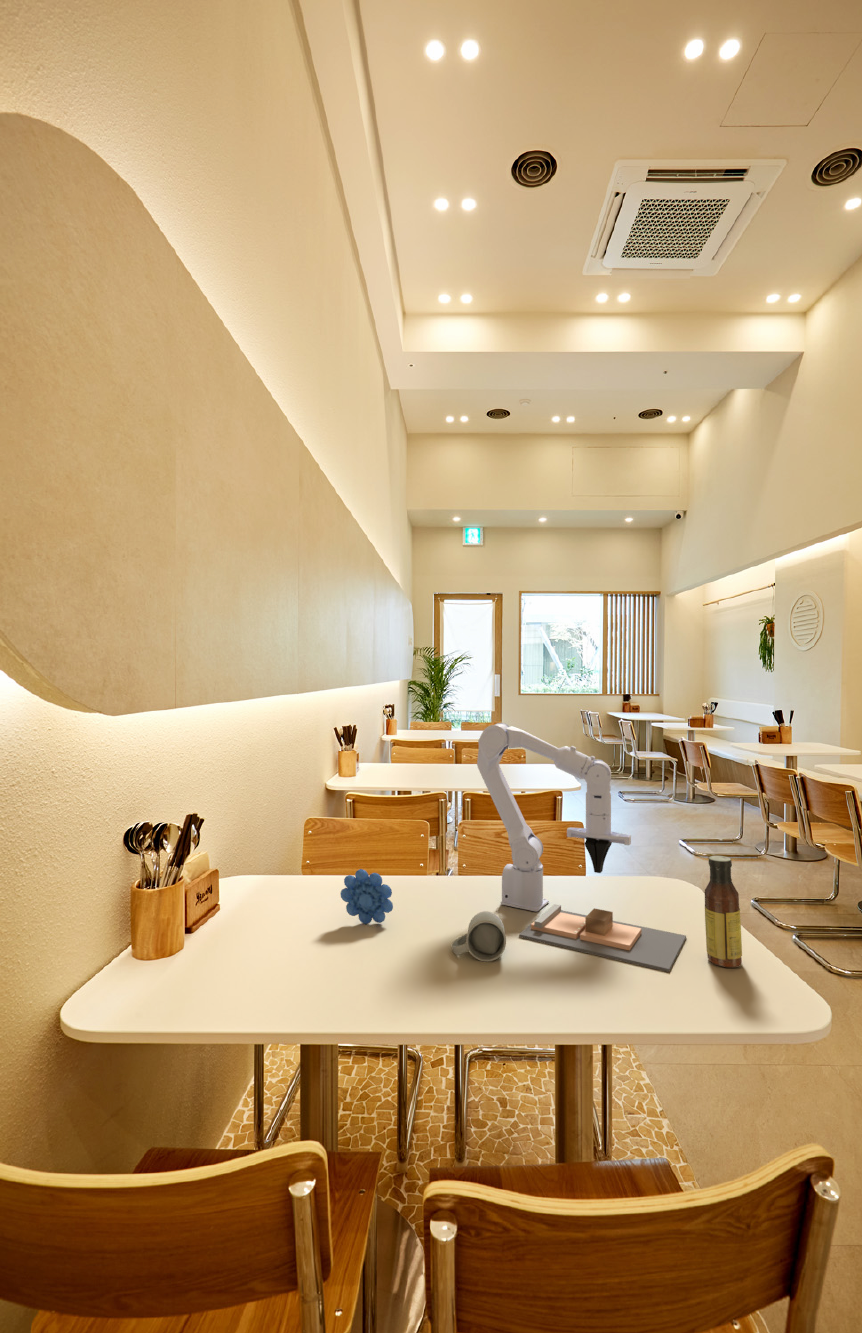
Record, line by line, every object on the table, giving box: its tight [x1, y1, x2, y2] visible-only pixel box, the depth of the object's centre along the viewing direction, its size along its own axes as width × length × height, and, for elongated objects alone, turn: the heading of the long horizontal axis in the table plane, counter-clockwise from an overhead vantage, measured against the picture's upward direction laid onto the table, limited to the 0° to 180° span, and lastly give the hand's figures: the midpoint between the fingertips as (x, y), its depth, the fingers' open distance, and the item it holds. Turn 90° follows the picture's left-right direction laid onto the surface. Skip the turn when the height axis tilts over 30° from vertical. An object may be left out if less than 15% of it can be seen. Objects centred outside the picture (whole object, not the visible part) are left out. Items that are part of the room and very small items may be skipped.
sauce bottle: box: [704, 855, 743, 969], centre depth 121 cm, size 6×6×20 cm
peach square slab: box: [580, 908, 641, 951], centre depth 131 cm, size 10×10×4 cm
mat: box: [518, 909, 687, 973], centre depth 132 cm, size 30×18×1 cm, turn 59°
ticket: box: [530, 903, 585, 939], centre depth 137 cm, size 10×12×2 cm
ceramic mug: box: [451, 910, 507, 963], centre depth 125 cm, size 11×8×8 cm
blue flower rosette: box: [340, 868, 394, 925], centre depth 138 cm, size 12×7×12 cm, turn 91°
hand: (598, 871), depth 147 cm, fingers closed
